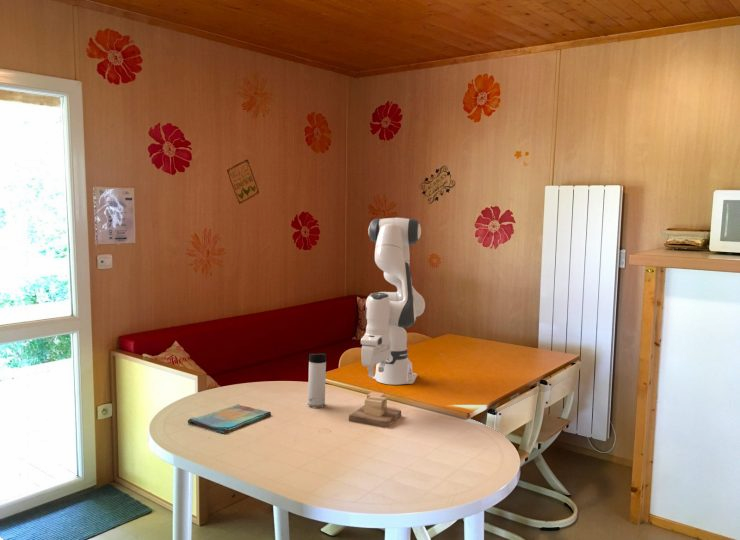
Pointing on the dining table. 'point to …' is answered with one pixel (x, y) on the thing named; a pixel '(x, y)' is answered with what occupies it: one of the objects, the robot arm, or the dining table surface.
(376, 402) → the oak block
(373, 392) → the terracotta block
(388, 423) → the base board
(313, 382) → the travel mug
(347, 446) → the dining table surface
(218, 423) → the dish towel
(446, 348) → the dining table surface
